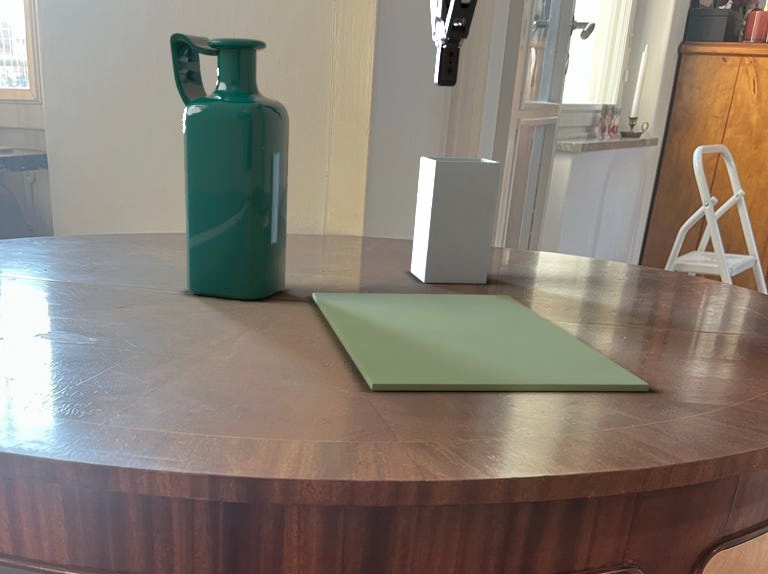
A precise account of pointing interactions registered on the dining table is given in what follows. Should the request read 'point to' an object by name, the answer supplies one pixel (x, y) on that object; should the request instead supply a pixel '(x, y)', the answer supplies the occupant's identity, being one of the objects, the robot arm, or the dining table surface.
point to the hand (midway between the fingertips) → (444, 85)
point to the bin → (454, 219)
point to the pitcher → (232, 172)
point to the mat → (464, 345)
